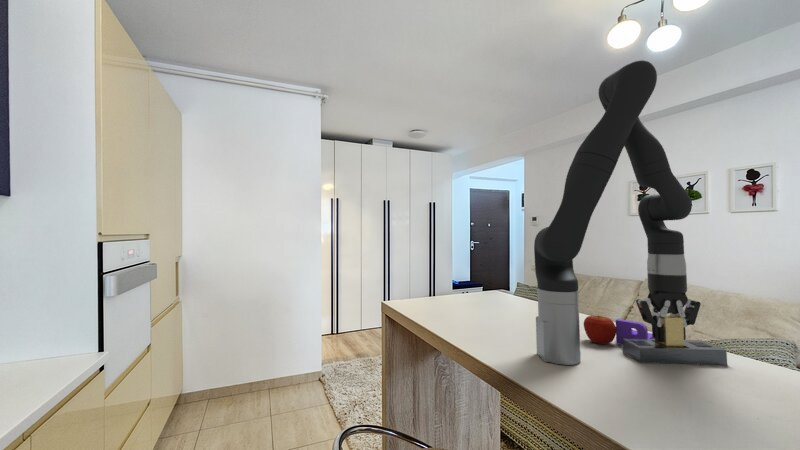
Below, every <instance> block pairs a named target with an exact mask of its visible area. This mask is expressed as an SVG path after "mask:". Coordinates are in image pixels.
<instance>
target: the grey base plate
mask: <svg viewBox="0 0 800 450" xmlns="http://www.w3.org/2000/svg"><path fill="white" fill-rule="evenodd" d="M622 340H623V345H622V353H623V354H625V355H627V356H628V357H630V358H632V359H633V360H635V361H637V362H638V363H641V364H668V365H670V364H674V365H704V366H705V365H707V366H708V365H711V366H712V365H713V366H715V365H717V366H728V355H727V354H728V352H727V350H728V349H725V348H723V347H720V346H718V345H715V344H712V343H710V342H708V341H704V340H702V339H685V340H684V348H667V347H664V346H661V345H659V344H657V343H655V339H622Z"/></svg>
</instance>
